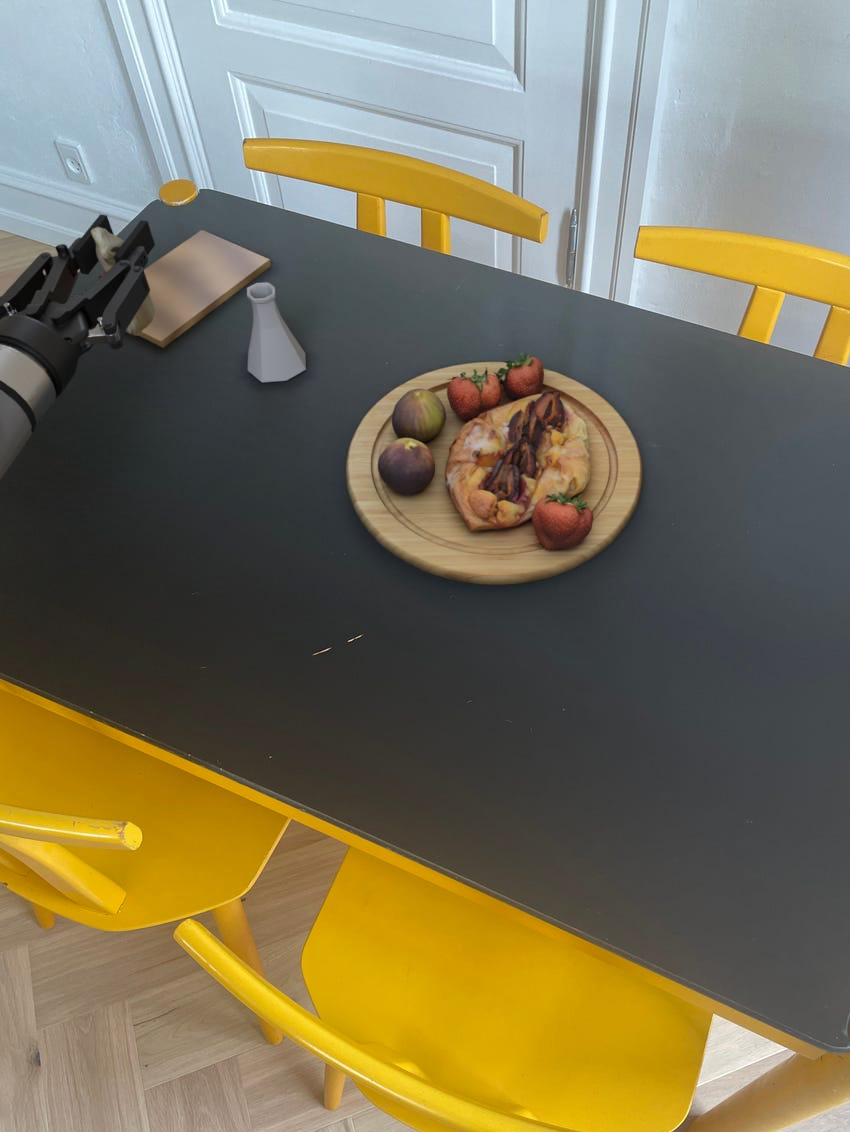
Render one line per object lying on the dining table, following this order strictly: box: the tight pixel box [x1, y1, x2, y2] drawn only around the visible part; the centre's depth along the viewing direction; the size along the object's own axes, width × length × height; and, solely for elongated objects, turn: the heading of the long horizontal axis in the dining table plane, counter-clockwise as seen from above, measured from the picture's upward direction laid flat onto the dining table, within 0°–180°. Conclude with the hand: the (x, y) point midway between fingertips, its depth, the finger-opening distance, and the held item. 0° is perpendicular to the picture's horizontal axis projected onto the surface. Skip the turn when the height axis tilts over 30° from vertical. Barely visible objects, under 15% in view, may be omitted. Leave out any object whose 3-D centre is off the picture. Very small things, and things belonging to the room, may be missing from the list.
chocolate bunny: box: [91, 227, 155, 336], centre depth 92 cm, size 6×8×10 cm
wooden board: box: [137, 229, 272, 348], centre depth 114 cm, size 20×12×1 cm, turn 147°
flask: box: [246, 281, 307, 383], centre depth 102 cm, size 7×7×10 cm
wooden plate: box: [345, 351, 644, 586], centre depth 93 cm, size 32×32×8 cm
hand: (127, 230), depth 94 cm, fingers closed on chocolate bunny, 4 cm apart
